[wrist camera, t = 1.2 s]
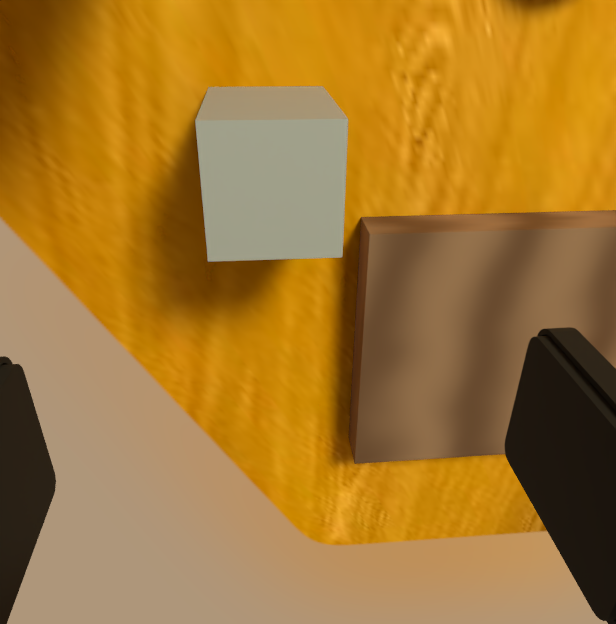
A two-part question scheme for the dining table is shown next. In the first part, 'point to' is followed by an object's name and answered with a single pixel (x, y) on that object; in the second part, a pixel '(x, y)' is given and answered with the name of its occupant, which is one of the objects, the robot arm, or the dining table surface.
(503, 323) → the walnut base
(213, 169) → the slate block
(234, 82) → the dining table surface
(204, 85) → the dining table surface
